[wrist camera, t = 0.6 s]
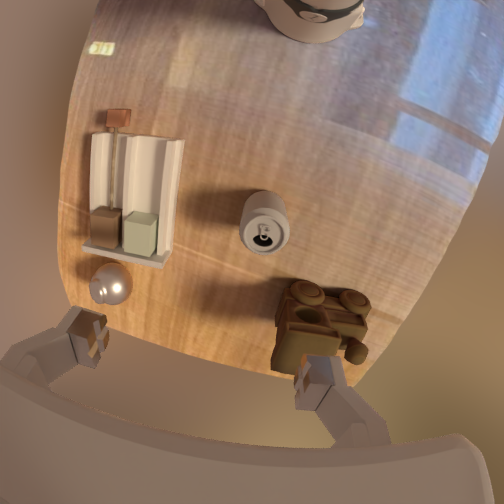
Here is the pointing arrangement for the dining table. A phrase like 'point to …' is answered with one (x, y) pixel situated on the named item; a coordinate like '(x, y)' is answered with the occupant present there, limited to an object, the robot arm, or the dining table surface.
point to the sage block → (141, 233)
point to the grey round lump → (111, 284)
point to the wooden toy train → (318, 326)
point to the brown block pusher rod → (110, 218)
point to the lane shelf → (137, 187)
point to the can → (264, 223)
